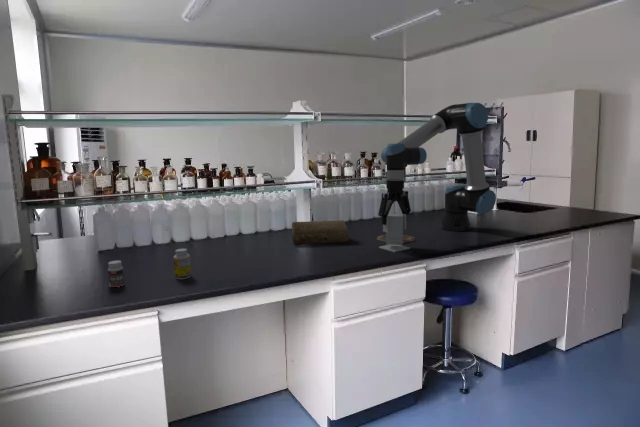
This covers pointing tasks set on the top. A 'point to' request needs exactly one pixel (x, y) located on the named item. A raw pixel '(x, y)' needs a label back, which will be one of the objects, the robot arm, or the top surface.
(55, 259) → the top surface
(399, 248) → the sage pad
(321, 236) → the core sample
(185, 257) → the supplement bottle
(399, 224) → the supplement box
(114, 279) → the pill bottle
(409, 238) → the wooden collar
